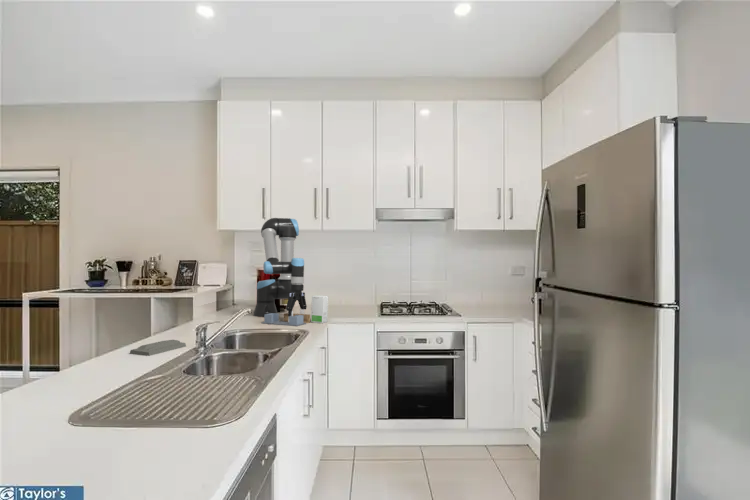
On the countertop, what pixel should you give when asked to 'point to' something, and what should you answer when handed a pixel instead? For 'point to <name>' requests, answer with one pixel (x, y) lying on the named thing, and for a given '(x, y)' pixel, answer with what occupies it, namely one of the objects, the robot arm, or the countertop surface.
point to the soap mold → (158, 347)
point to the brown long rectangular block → (305, 316)
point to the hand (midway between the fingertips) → (296, 321)
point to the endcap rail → (274, 319)
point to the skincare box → (319, 309)
